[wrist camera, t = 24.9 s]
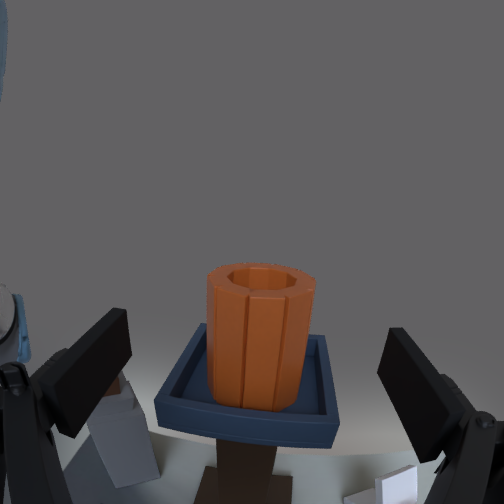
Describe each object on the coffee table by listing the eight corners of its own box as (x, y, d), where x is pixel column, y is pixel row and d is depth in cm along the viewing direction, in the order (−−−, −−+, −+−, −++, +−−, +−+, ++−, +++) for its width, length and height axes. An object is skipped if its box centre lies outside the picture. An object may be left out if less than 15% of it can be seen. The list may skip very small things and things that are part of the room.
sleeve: (271, 429, 17) (287, 309, 15) (189, 388, 21) (185, 277, 19) (313, 378, 23) (331, 276, 21) (241, 352, 27) (246, 257, 25)
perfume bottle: (160, 477, 31) (138, 384, 27) (116, 488, 27) (76, 395, 23) (143, 446, 37) (123, 351, 32) (103, 455, 33) (70, 359, 29)
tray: (184, 535, 22) (149, 401, 17) (206, 469, 34) (199, 321, 28) (286, 549, 21) (344, 425, 15) (291, 479, 33) (326, 334, 27)
